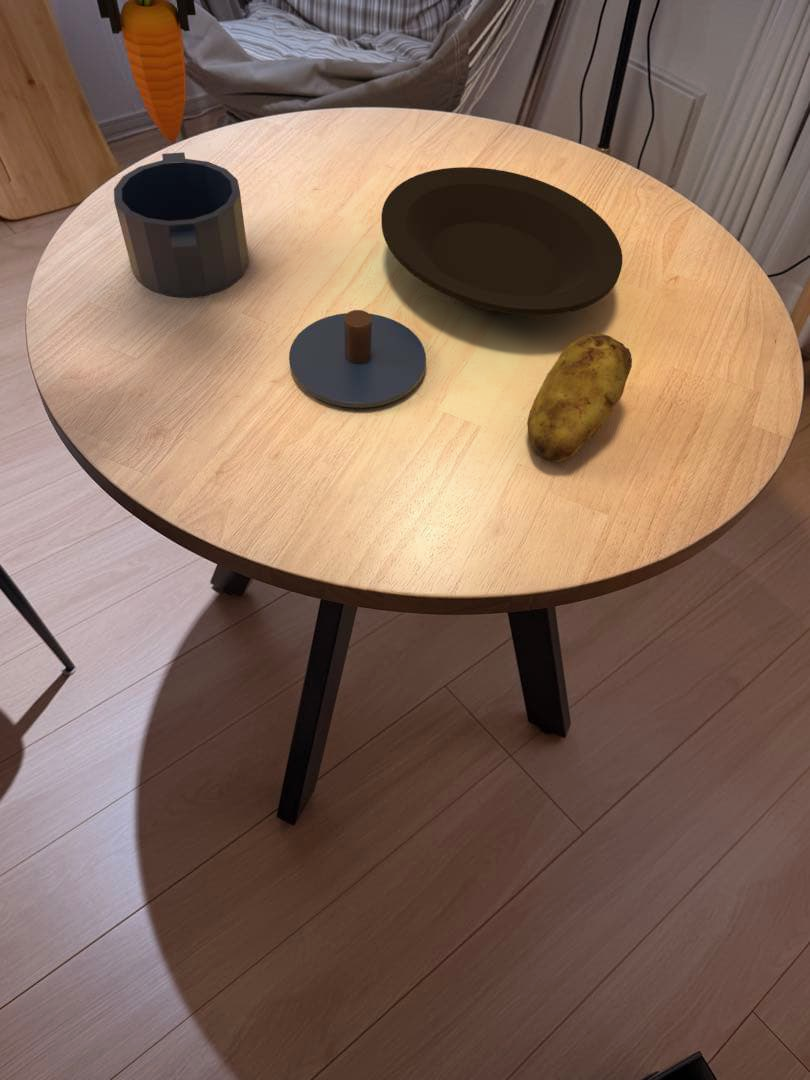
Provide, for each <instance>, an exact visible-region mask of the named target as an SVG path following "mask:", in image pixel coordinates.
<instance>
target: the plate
mask: <svg viewBox="0 0 810 1080" xmlns="http://www.w3.org/2000/svg"><path fill="white" fill-rule="evenodd" d="M380 217H381V219H380V220H381V223H380V224H381V231H382V236H383V239H384V241H385V243H386V245H387V247H388V250H389V251H390V252H391V254H392V255H393V257H394V258H395V259H396V260H397V261H398V262H399V263H400V265H402V267H404V268H405V270H406V271H408V272H409V273H411V275H412V276H414V277H416V279H418V280H419V281H421V282H422V283H424V284H426V285H427V286H429V287H431V288H432V289H433V290H436V291H437V292H440V293H442V294H444V295H446V296H447V297H450V298H452V299H454V300H457V301H460V302H462V303H465V304H469V305H471V306H474V307H478V308H479V309H480V308H481V309H485V310H489V311H494V312H499V313H504V314H510V315H519V316H552V315H560V314H567V313H571V312H575V311H579V310H582V309H584V308H588V307H590V306H592V305H595V304H596V303H598V302H599V301H600V300H602V299H603V298H605V297H606V296H608V294H610V292H611V291H612V290H613V289H614V287H615V286H616V284H617V282H618V281H619V278H620V274H621V272H622V267H623V252H622V248H621V244H620V242H619V239H618V238H617V235H616V233H615V232H614V231H613V229H612V228H611V226H610V225H609V224H608V223H607V222H606V221H605V219H603V217H601V216H600V215H599V214H598V212H596V211H595V210H594V209H593V208H592V207H590V206H588V205H587V204H586V203H584V202H583V201H582V200H580V199H579V198H577V197H575V196H574V195H572V194H571V193H569V192H567V191H564V190H563V189H561V188H559V187H557V186H554V185H552V184H550V183H547V182H545V181H542V180H540V179H537V178H533V177H529V176H527V175H524V174H520V173H517V172H512V171H507V170H503V169H495V168H487V167H473V166H461V167H457V166H456V167H446V168H439V169H433V170H430V171H425V172H422V173H419V174H416V175H414V176H412V177H409V178H408V179H406V180H404V181H403V182H401V183H400V184H398V185H396V186H395V188H394V189H393V190H391V192H390V193H389V194H388V196H387V197H386V199H385V201H384V203H383V206H382V209H381V216H380Z"/></svg>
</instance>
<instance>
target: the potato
mask: <svg viewBox="0 0 810 1080" xmlns="http://www.w3.org/2000/svg"><path fill="white" fill-rule="evenodd" d="M632 368H633V358H632V353H631V351H630V348H628V347H626V346H625V344H624V343H622V342H620V341H619V340H617V339H615V338H613V337H612V336H610V335H607V334H598V333H588V334H585V335H582V336H581V337H579V338H576V339H575V340H574V341H572V342H571V343H570V344H569V345H568V346H567V347H566V348H565V349H564V350H563V351H562V352H561V353H560V355H559V356H558V357H557V360H556V361H555V362H554V364H553V365H552V367H551V369H550V370H549V371H548V372H547V374H546V376H545V379H544V381H543V382H542V384H541V386H540V387H539V390H538V392H537V394H536V396H535V398H534V400H533V403H532V405H531V407H530V410H529V413H528V417H527V424H526V427H527V434H528V439H529V443H530V447H531V449H532V451H533V454H534V455H536V456H537V457H539V458H540V459H542V460H543V461H545V462H548V463H560V462H563V461H565V460H568V459H571V458H572V457H573V456H575V455H576V454H577V453H578V452H580V449H581V447H582V446H583V444H584V443H586V442H587V441H588V440H589V439H591V438H592V437H594V436H595V434H596V433H597V431H598V430H599V429H600V428H602V426H603V423H604V422H605V421H606V419H607V418H608V417H609V415H610V414H611V413H612V412H613V410H614V409H615V407H616V405H617V404H618V403H619V401H620V399H621V398H622V396H623V395H624V391H625V387H626V383H627V380H628V378H629V375H630V373H631V370H632Z"/></svg>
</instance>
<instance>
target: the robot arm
mask: <svg viewBox="0 0 810 1080" xmlns="http://www.w3.org/2000/svg"><path fill="white" fill-rule="evenodd" d="M175 1H176V2H175V3H176V8H177V11H178V15H179V21H180V28H181V30H183V32H190V31H191V30H190V23H189V18H188V16H196V14H197V13H196V12H197V11H196V5H195V0H175ZM96 3H97V7H98V12H99V16H100V18H101V19H109V23H110V24H109V25H110V28H111V33H112V34H113V35H115V34H117V35H119V34H120V33H122V30H121V25H120V14H121V10H120V7H119V2H118V0H96Z"/></svg>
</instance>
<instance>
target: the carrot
mask: <svg viewBox="0 0 810 1080" xmlns="http://www.w3.org/2000/svg"><path fill="white" fill-rule="evenodd" d="M120 25H121V34H122V39H123V43H124V47H125V51H126V55H127V58H128V62H129V66H130V70H131V73H132V76H133V81H134V82H135V85H136V87H137V90H138V93H139V96H140V97H141V100H142V102H143V105H144V107H145V110H146V111H147V114H148V115H149V116H150V118H151V120H152V122H153V124H154V125H155V126H156V128H157V129H158V130H159V132H160V133H161V134H162V136H163V137H164V138H165V139H166V140H167V141H169V142H170V143H174V142H175V141H176V140H177V139H178V137H179V135H180V131H181V127H182V124H183V120H184V119H183V118H184V112H185V106H186V88H187V87H186V85H187V84H186V82H187V81H186V78H187V77H186V75H187V74H186V58H185V50H184V49H185V48H184V41H183V32H182V29H181V28H180V21H179V15H178V9H177V6H176V5H174V4H173V3H172V2H170V1H168V0H126V1H125V2H124V4H123V5H122V7H121V10H120Z"/></svg>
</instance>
